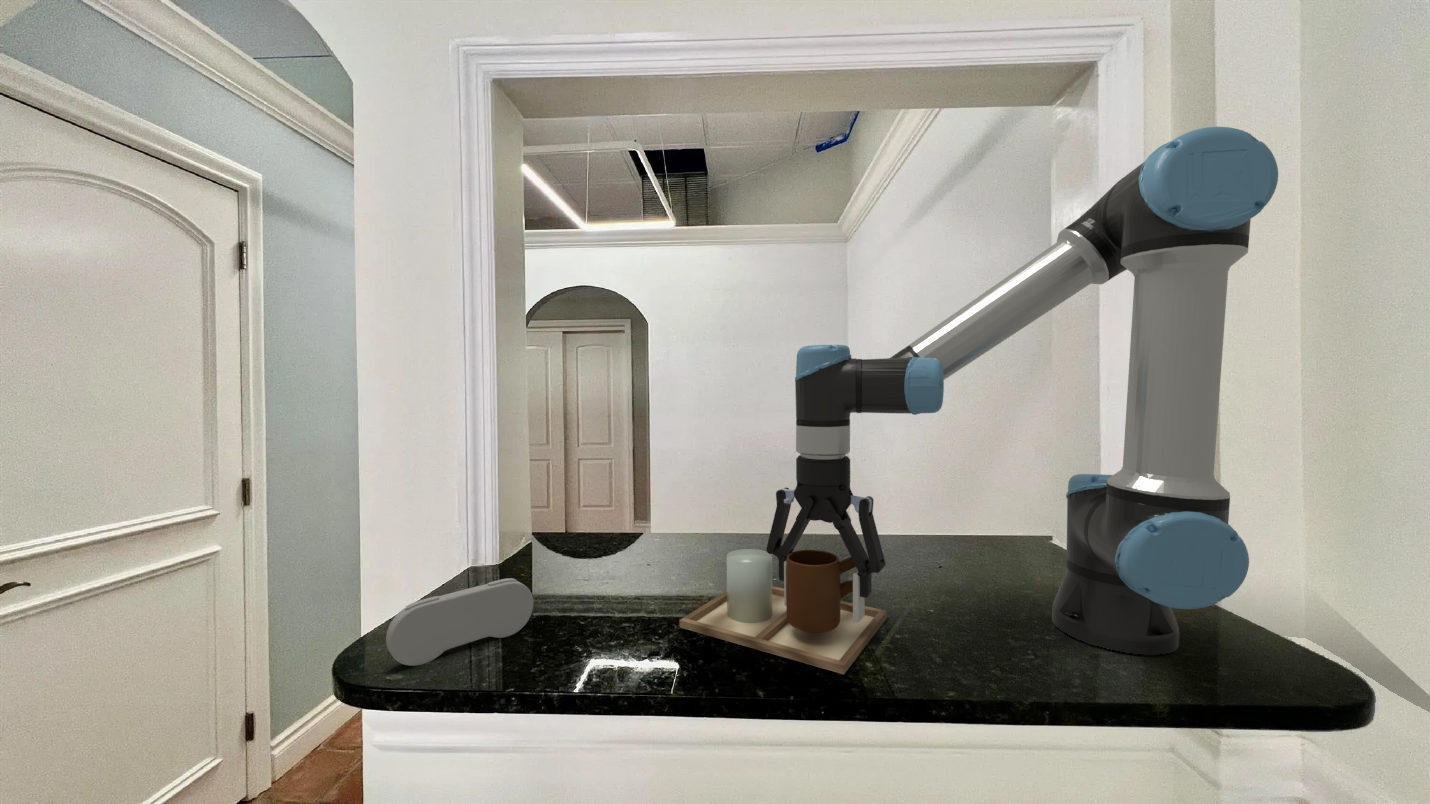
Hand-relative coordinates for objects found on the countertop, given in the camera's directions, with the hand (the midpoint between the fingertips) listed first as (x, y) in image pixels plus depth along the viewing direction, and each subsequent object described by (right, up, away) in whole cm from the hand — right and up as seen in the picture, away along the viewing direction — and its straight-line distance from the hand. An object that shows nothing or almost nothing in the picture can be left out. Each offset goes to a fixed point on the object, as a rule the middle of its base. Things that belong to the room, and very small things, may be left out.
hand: (823, 610), depth 80 cm
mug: (+1, -2, 0) cm, 2 cm away
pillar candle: (-10, -3, +7) cm, 12 cm away
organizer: (-5, -4, +3) cm, 7 cm away
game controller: (-51, -5, -1) cm, 51 cm away
